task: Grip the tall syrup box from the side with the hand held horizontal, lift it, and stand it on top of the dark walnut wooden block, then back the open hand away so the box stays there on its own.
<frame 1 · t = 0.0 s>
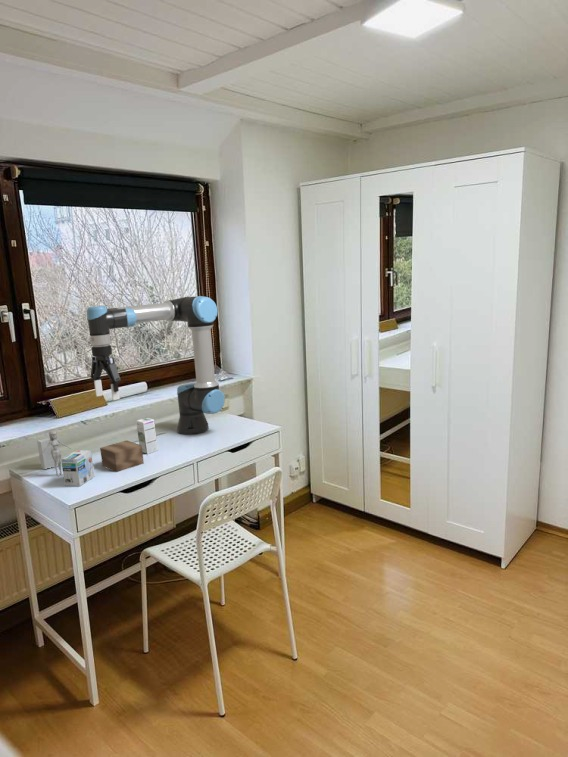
hand: (107, 397, 228), 28 cm above the table, tool pointing down, fingers open, 13 cm apart
light bulb box: (80, 481, 215), on the table
skincare box: (50, 467, 234), on the table
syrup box: (148, 452, 246), on the table
walnut block: (123, 465, 231), on the table
human figurine: (59, 475, 223), on the table
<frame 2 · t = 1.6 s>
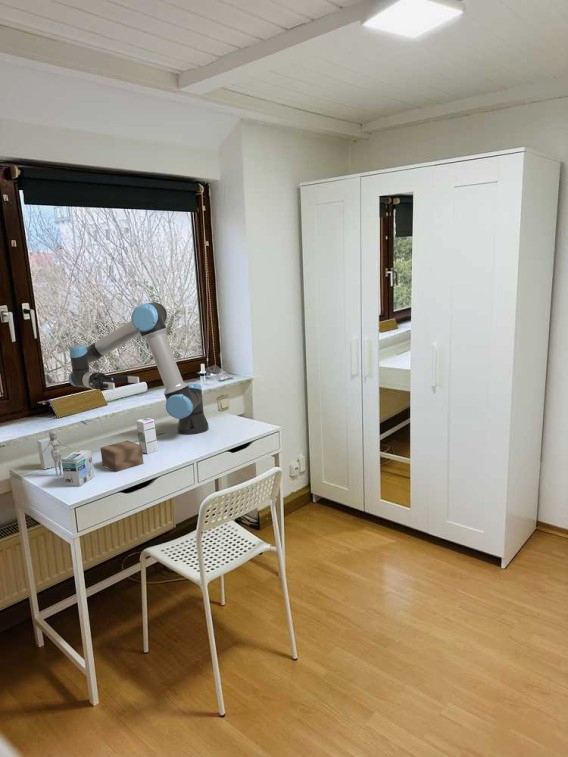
hand: (126, 383, 246), 30 cm above the table, tool horizontal, fingers open, 13 cm apart
nothing on the table moved.
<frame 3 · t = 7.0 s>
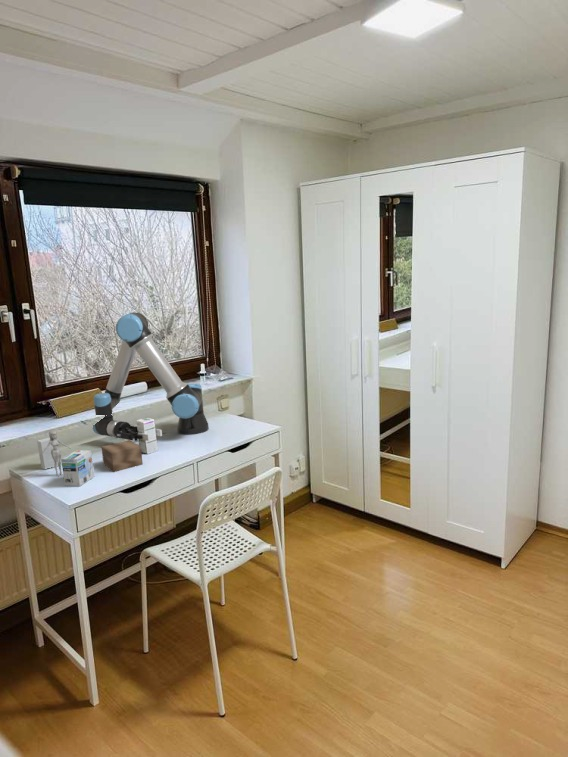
hand: (154, 435, 242), 8 cm above the table, tool horizontal, fingers closed on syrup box, 6 cm apart
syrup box: (148, 452, 246), on the table, touching gripper
everything else where it was.
when the fingers open (17 cm above the table, at t = 12.3 s): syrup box drops 2 cm, point 8 cm above the table.
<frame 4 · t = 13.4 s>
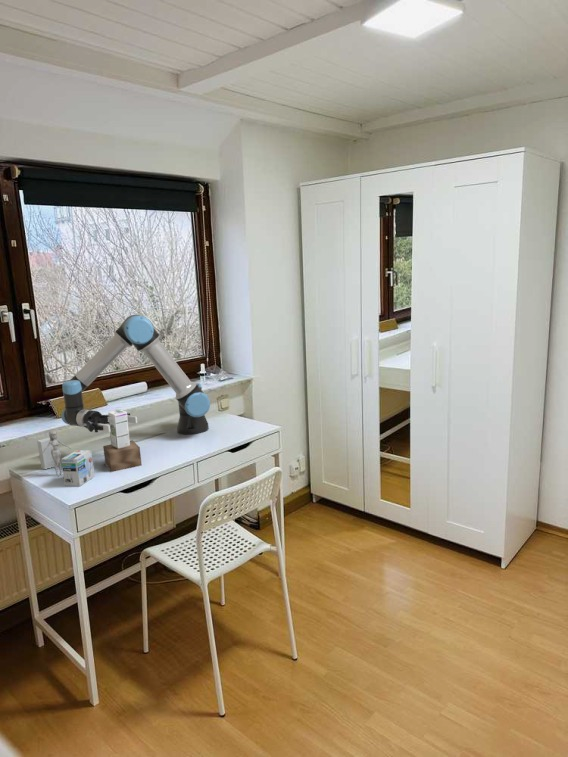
hand: (123, 424, 226), 18 cm above the table, tool horizontal, fingers open, 13 cm apart
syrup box: (120, 446, 230), point 8 cm above the table
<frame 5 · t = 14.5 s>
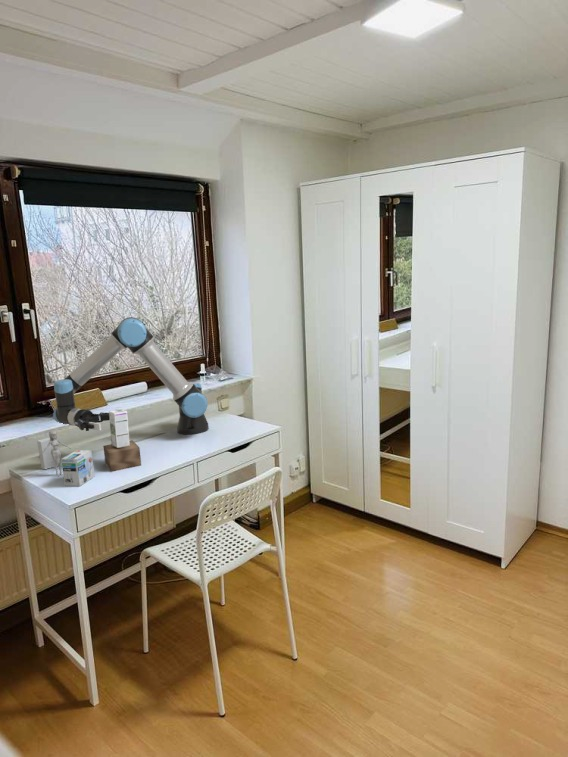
hand: (114, 422, 229), 18 cm above the table, tool horizontal, fingers open, 13 cm apart
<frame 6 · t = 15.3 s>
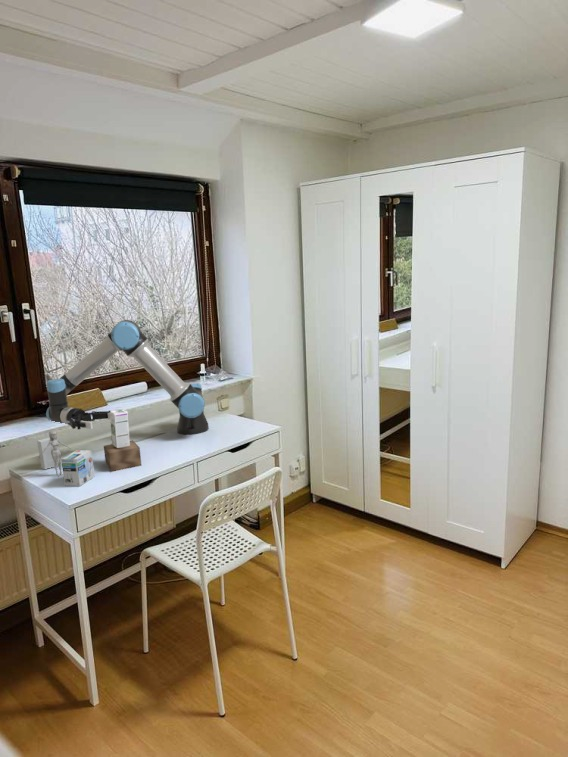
hand: (105, 421, 232), 18 cm above the table, tool horizontal, fingers open, 13 cm apart
nothing on the table moved.
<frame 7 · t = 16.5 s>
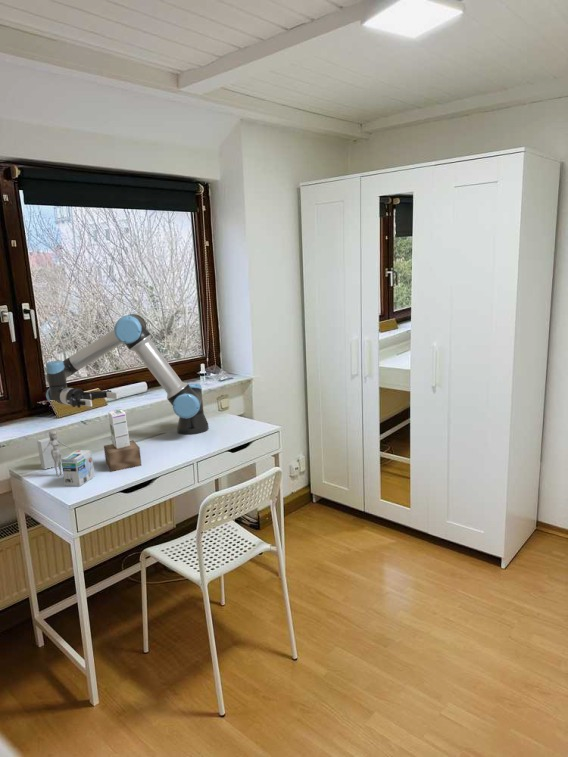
hand: (104, 399, 238), 25 cm above the table, tool horizontal, fingers open, 13 cm apart
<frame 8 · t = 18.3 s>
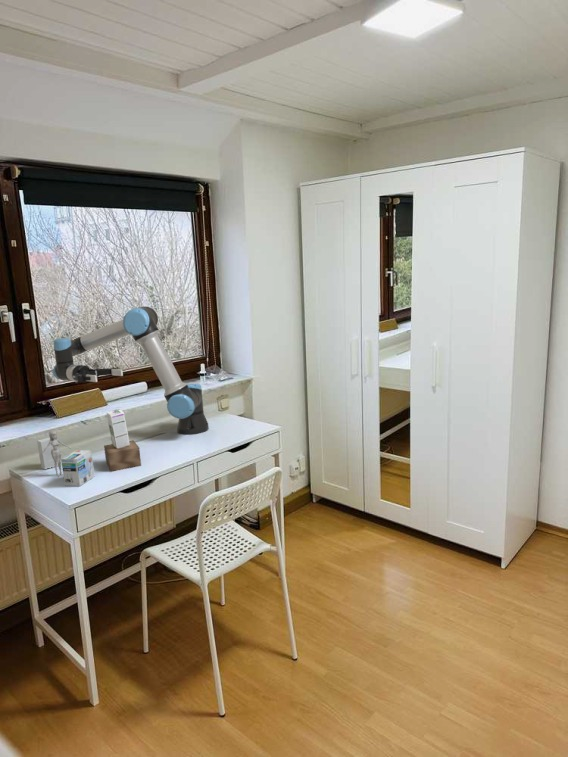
hand: (109, 375, 244), 34 cm above the table, tool horizontal, fingers open, 13 cm apart
nothing on the table moved.
at the end: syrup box inside the target area on the walnut block (0.5 cm from its centre), point 8.1 cm above the walnut block's base; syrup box tilted 5°; the gripper is holding nothing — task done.
